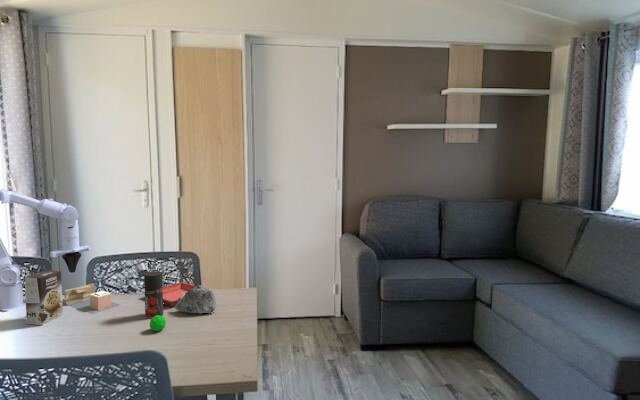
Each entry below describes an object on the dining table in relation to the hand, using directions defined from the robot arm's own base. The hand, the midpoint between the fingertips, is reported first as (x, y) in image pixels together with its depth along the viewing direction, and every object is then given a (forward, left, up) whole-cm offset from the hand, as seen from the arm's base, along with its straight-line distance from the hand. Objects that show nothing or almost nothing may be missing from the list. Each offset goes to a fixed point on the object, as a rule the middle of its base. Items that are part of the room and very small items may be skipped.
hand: (72, 271), depth 170 cm
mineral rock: (+51, +16, -11) cm, 54 cm away
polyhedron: (+53, -3, -11) cm, 54 cm away
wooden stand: (+7, -1, -10) cm, 12 cm away
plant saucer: (+33, +22, -11) cm, 41 cm away
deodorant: (+41, +5, -11) cm, 43 cm away
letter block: (+19, -1, -5) cm, 20 cm away
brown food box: (+14, -18, -11) cm, 25 cm away
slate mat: (+10, -1, -11) cm, 15 cm away
